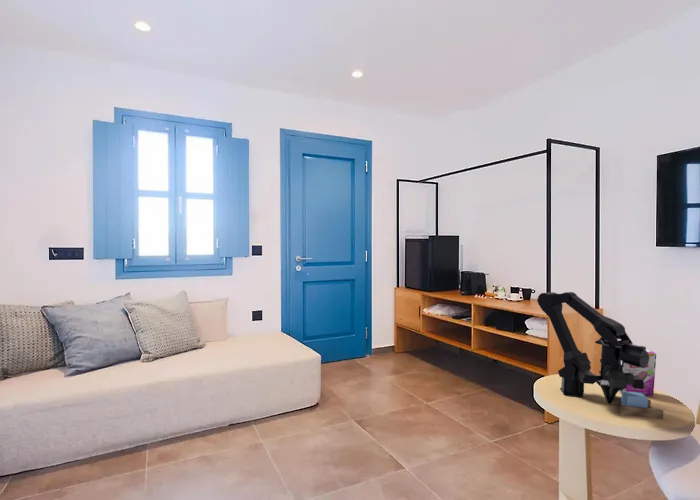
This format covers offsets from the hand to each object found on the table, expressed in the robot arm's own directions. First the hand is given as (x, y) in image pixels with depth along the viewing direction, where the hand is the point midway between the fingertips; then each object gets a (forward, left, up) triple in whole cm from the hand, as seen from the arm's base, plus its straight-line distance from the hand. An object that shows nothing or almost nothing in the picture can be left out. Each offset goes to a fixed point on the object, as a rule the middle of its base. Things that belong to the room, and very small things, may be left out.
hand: (608, 403), depth 137 cm
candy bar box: (+15, +18, -2) cm, 24 cm away
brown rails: (+8, 0, -1) cm, 8 cm away
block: (+8, 0, -1) cm, 8 cm away
